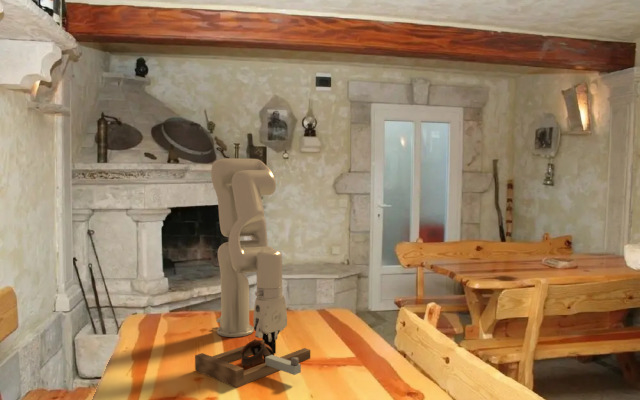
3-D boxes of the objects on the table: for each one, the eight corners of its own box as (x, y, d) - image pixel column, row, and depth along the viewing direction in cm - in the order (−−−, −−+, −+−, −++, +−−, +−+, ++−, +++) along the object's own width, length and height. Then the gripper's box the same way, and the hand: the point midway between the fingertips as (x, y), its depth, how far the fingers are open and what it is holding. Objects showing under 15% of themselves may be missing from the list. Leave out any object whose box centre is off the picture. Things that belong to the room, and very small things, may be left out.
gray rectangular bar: (265, 364, 145) (265, 351, 145) (271, 362, 147) (271, 349, 146) (294, 375, 138) (294, 360, 137) (300, 372, 139) (300, 358, 139)
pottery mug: (282, 369, 150) (271, 349, 146) (252, 387, 148) (240, 366, 144) (271, 346, 160) (260, 326, 157) (243, 362, 159) (231, 342, 155)
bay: (195, 370, 148) (195, 355, 148) (269, 345, 170) (269, 331, 169) (236, 387, 136) (236, 370, 136) (310, 358, 158) (310, 343, 158)
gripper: (259, 299, 148) (260, 363, 149) (296, 289, 160) (296, 349, 161) (241, 295, 153) (242, 357, 154) (278, 286, 165) (278, 344, 166)
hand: (270, 353), depth 158 cm, fingers closed
